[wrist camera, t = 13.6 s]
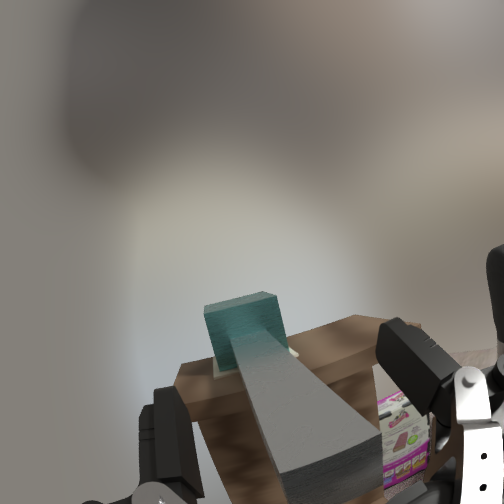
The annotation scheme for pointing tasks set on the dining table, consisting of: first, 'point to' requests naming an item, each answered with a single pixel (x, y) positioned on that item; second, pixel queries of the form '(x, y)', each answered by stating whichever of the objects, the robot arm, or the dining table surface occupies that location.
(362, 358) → the bracket shelf
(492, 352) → the dining table surface
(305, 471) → the grey and teal bar
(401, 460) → the candy bar box
